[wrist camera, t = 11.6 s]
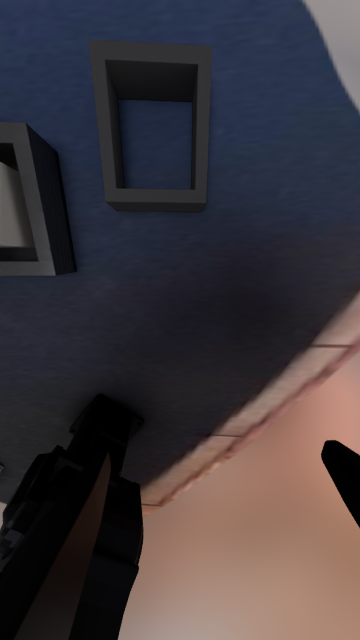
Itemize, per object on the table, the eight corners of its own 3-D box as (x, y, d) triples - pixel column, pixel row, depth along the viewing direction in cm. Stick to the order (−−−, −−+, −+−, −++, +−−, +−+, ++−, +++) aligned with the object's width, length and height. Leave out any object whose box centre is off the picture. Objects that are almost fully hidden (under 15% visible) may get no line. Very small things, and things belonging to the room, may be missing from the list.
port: (76, 271, 18) (55, 275, 15) (-15, 272, 17) (-58, 275, 14) (57, 152, 15) (25, 122, 12) (-53, 149, 15) (-118, 118, 11)
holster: (199, 211, 17) (206, 202, 14) (116, 210, 16) (105, 201, 14) (203, 88, 14) (211, 46, 11) (105, 83, 14) (88, 39, 11)
